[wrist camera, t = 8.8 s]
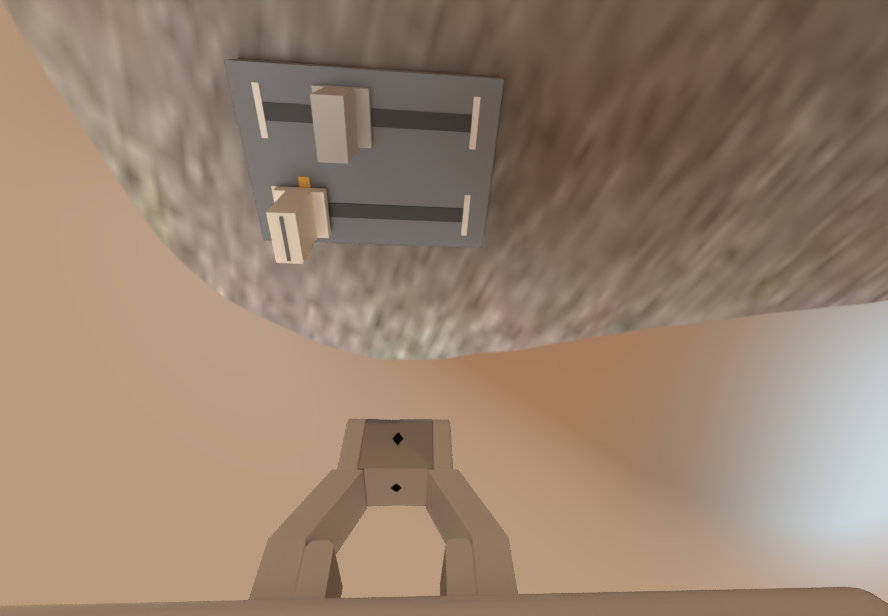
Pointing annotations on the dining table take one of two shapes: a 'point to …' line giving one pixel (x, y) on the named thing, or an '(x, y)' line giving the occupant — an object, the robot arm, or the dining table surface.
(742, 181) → the dining table surface
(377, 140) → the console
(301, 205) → the cap
